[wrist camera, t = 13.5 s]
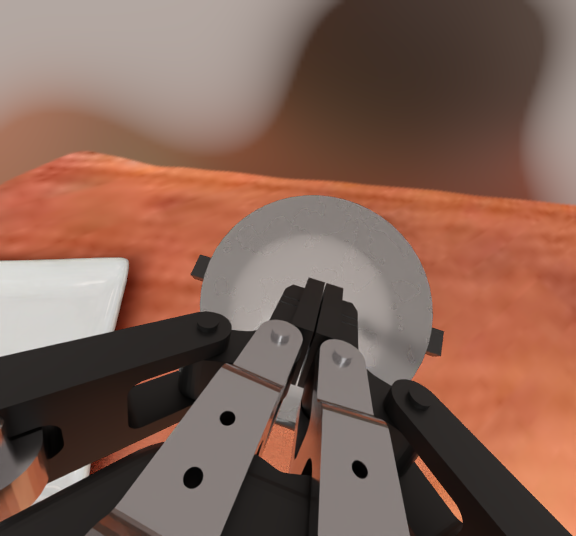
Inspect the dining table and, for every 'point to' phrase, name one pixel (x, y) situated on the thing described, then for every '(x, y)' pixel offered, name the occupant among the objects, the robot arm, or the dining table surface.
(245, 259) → the lid
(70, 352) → the robot arm
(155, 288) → the dining table surface
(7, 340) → the square plate
